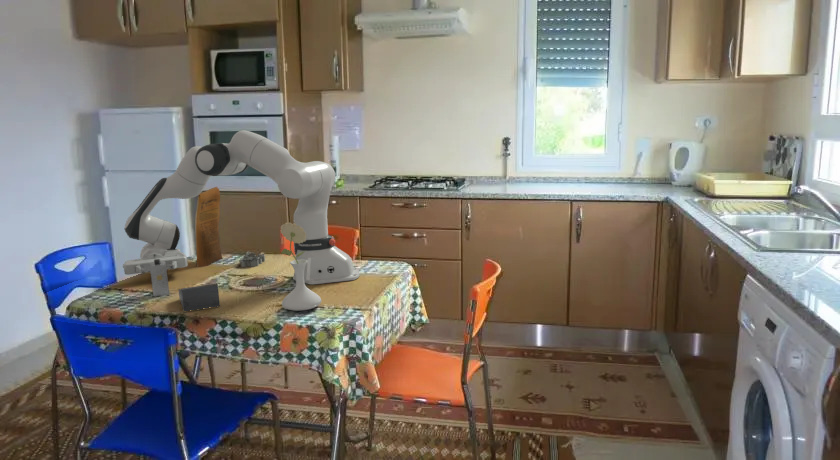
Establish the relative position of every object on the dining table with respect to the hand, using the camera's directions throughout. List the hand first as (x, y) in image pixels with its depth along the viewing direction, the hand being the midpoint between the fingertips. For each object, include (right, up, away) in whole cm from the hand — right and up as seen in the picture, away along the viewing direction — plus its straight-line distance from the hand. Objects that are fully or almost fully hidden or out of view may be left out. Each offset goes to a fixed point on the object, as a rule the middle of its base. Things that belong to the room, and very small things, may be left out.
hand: (157, 269), depth 211 cm
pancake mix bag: (+8, +1, +30) cm, 31 cm away
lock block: (+5, -7, -9) cm, 13 cm away
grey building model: (+25, 0, +26) cm, 36 cm away
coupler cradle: (+21, -9, -21) cm, 31 cm away
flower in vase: (+53, -10, -28) cm, 61 cm away
